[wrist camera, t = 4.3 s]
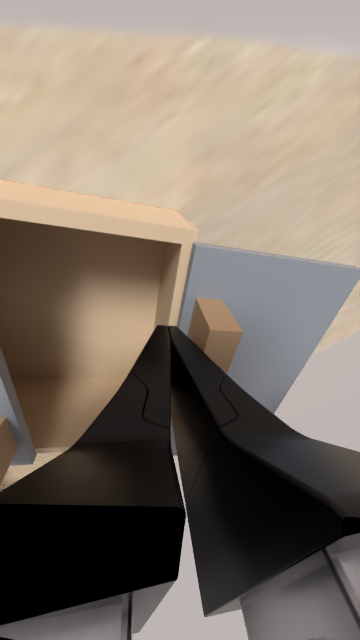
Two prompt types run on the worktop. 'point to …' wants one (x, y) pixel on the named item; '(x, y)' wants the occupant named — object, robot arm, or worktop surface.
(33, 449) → the lid panel
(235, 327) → the lid panel
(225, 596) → the robot arm
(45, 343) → the carton
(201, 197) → the worktop surface
